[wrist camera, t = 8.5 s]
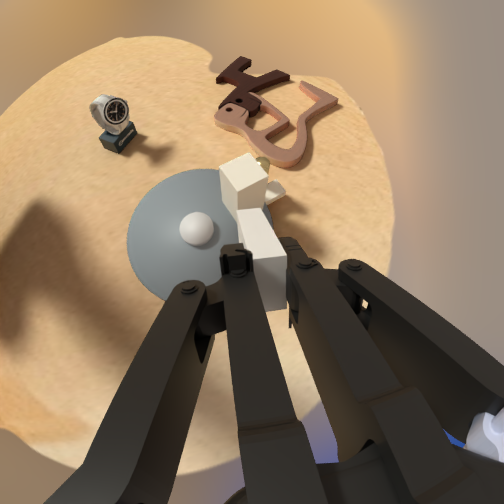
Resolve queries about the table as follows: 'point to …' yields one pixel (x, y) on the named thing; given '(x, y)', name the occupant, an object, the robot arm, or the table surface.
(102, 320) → the table surface
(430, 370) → the robot arm
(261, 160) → the gold domed cylinder
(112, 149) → the watch
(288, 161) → the wood carving
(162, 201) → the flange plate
